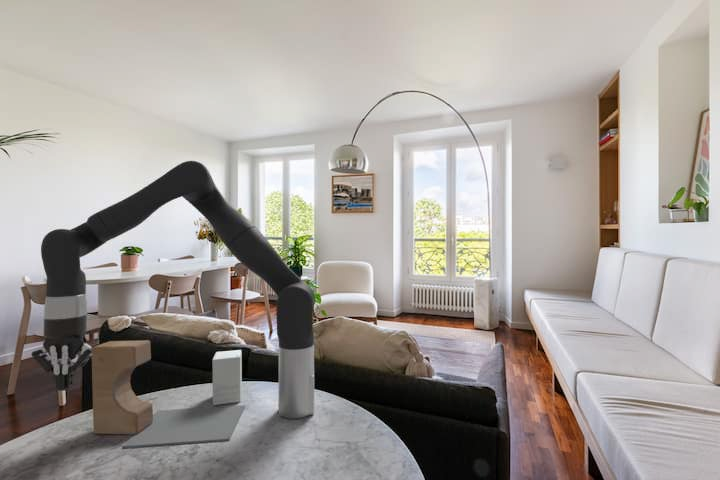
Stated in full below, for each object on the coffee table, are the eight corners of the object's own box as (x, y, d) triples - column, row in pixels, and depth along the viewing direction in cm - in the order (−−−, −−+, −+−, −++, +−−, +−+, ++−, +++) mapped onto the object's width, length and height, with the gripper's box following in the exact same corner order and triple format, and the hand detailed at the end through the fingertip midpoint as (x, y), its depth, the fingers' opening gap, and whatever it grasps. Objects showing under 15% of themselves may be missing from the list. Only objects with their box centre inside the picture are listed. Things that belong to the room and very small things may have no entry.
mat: (244, 406, 90) (244, 405, 90) (229, 440, 74) (229, 438, 74) (158, 412, 88) (158, 410, 88) (122, 448, 72) (122, 446, 72)
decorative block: (154, 422, 81) (151, 339, 82) (136, 435, 76) (133, 346, 76) (112, 421, 83) (110, 340, 83) (91, 434, 77) (89, 347, 77)
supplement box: (242, 391, 100) (242, 349, 100) (240, 402, 93) (240, 356, 93) (215, 394, 98) (216, 351, 98) (211, 406, 91) (212, 359, 91)
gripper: (106, 310, 83) (105, 381, 82) (47, 312, 81) (45, 384, 81) (85, 317, 75) (84, 394, 75) (20, 318, 74) (18, 398, 73)
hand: (64, 389), depth 78 cm, fingers closed
